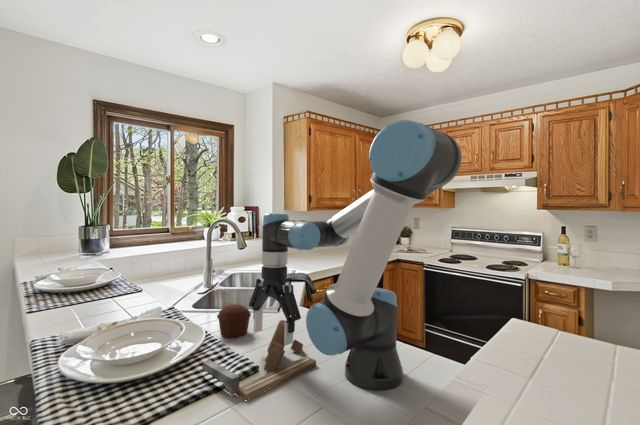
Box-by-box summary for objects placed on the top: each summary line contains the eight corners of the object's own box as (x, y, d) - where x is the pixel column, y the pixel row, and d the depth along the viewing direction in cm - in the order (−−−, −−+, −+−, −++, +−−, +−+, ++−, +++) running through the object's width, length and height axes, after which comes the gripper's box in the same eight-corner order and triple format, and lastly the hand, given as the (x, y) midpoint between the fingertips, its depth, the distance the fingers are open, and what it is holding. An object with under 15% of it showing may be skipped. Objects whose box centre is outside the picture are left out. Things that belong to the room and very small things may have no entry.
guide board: (316, 365, 92) (316, 351, 92) (242, 403, 73) (242, 385, 73) (275, 349, 103) (275, 336, 103) (202, 377, 84) (202, 362, 84)
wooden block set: (276, 384, 87) (290, 351, 85) (249, 366, 89) (262, 334, 87) (300, 354, 104) (312, 326, 102) (277, 340, 106) (288, 312, 105)
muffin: (254, 329, 121) (255, 302, 121) (245, 340, 110) (245, 310, 110) (223, 328, 122) (224, 301, 122) (211, 338, 111) (211, 309, 111)
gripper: (314, 269, 92) (312, 345, 92) (257, 259, 108) (256, 323, 108) (295, 272, 86) (293, 353, 86) (238, 261, 102) (236, 329, 102)
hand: (272, 337), depth 97 cm, fingers open, 13 cm apart
